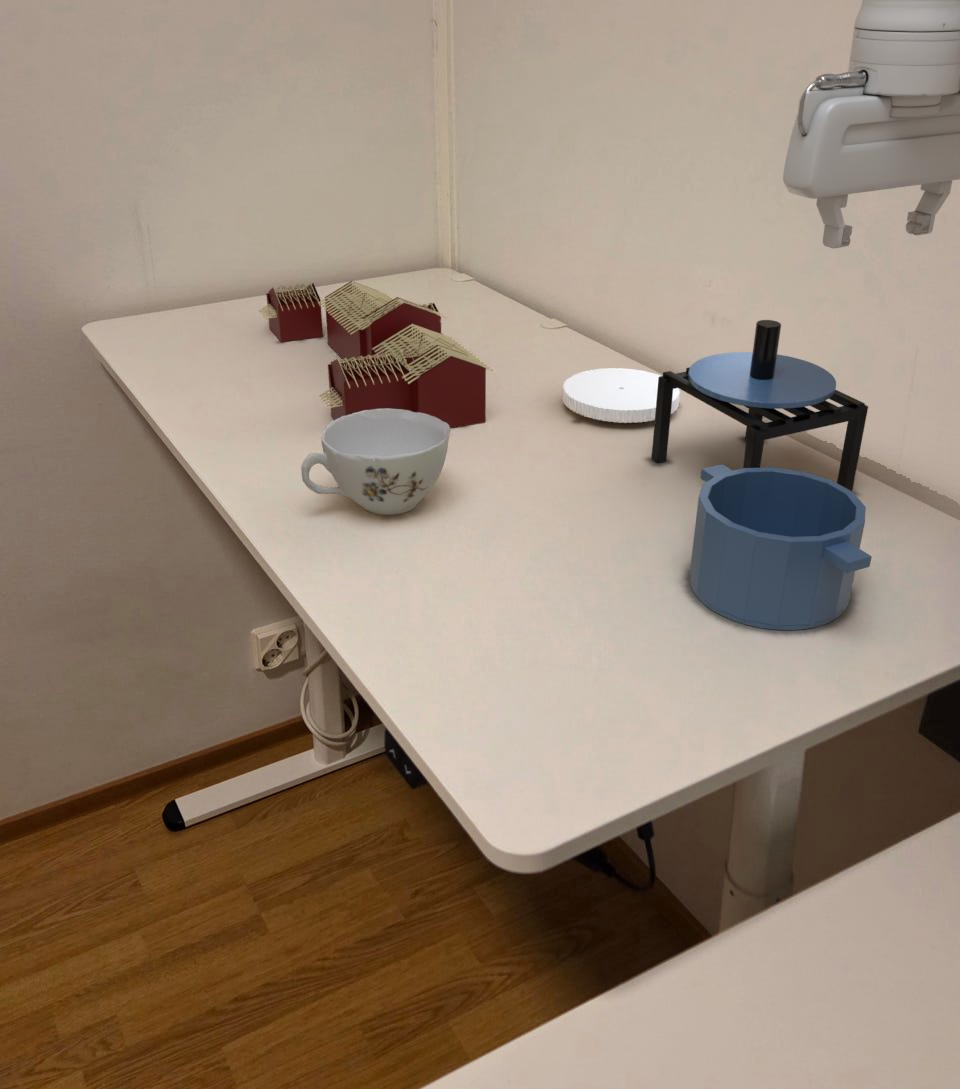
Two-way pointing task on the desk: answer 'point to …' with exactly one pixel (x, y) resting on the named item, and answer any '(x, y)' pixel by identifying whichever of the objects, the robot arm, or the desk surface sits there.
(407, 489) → the teacup
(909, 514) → the desk surface
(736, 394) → the lid
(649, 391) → the plastic lid
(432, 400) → the toy houses
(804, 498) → the pot
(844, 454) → the rack
